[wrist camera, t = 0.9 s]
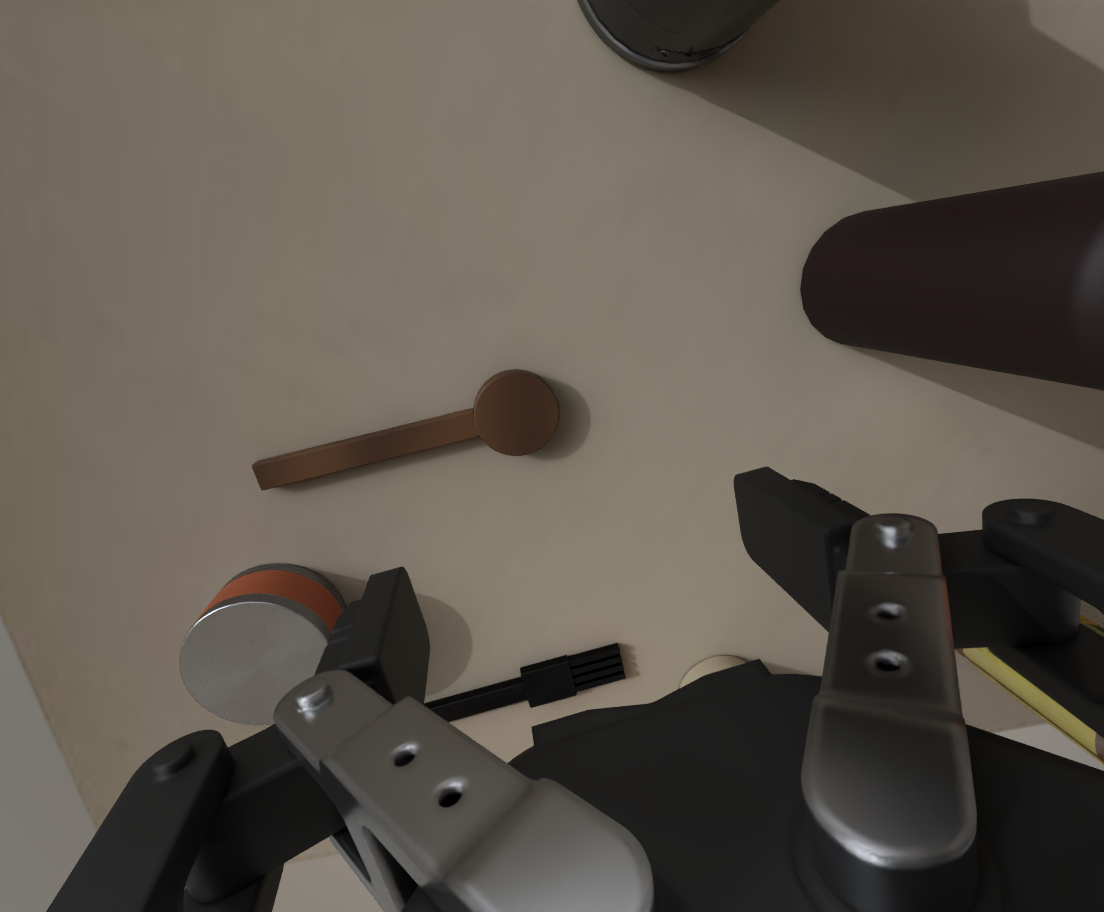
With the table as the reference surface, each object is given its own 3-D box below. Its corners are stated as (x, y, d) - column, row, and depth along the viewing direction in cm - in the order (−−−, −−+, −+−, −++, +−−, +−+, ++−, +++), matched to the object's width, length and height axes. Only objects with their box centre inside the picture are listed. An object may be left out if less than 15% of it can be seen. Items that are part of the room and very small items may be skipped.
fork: (371, 744, 36) (370, 753, 35) (358, 711, 35) (356, 720, 34) (624, 674, 37) (626, 681, 36) (616, 640, 36) (619, 647, 35)
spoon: (277, 511, 31) (270, 519, 30) (245, 433, 29) (236, 439, 28) (564, 439, 32) (567, 444, 31) (546, 360, 30) (549, 363, 29)
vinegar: (797, 352, 32) (1276, 461, 13) (796, 221, 30) (1365, 124, 11) (910, 333, 33) (1527, 411, 14) (918, 203, 30) (1658, 83, 11)
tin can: (190, 582, 31) (152, 624, 27) (324, 547, 32) (304, 585, 28) (242, 689, 33) (213, 742, 30) (366, 656, 34) (353, 704, 30)
